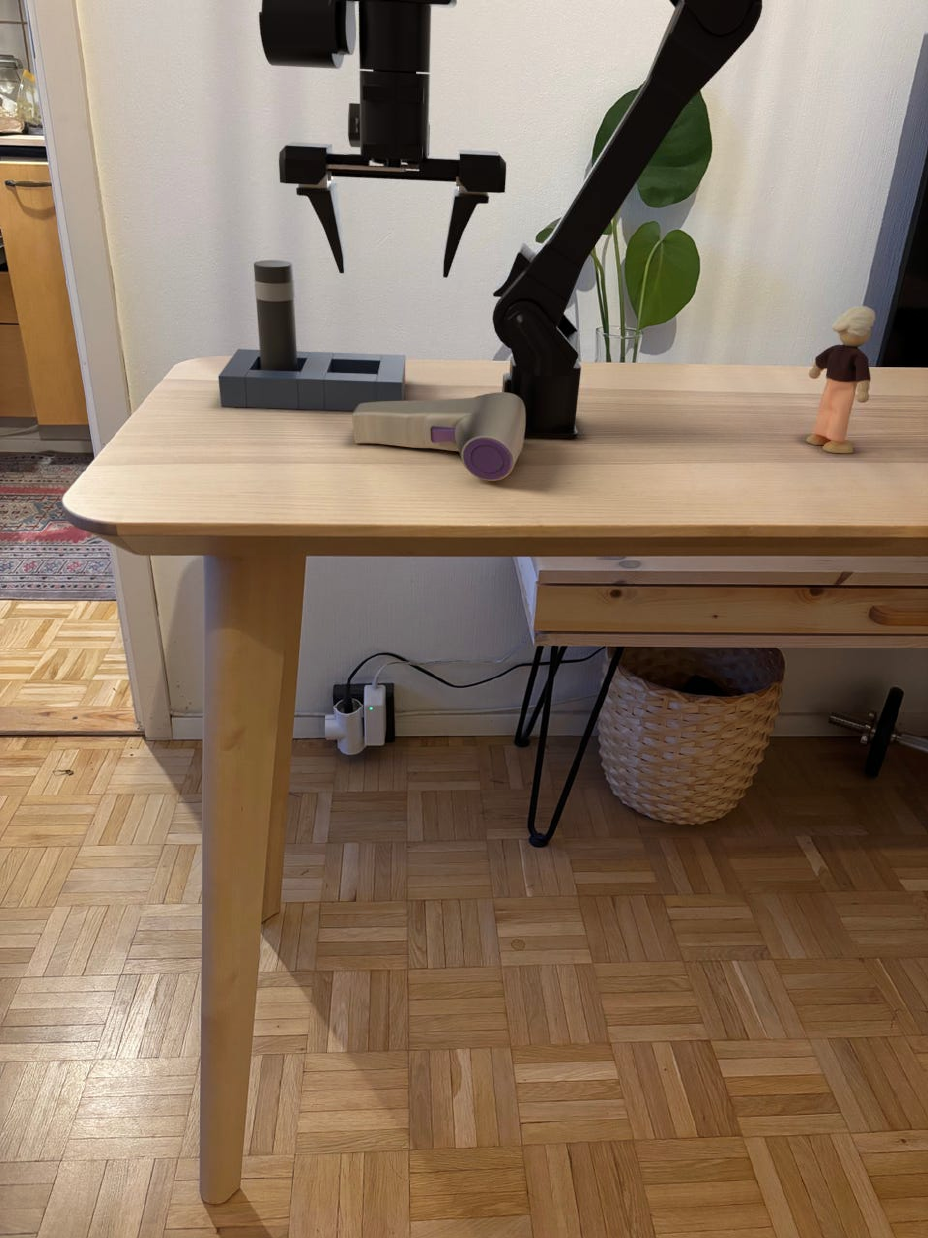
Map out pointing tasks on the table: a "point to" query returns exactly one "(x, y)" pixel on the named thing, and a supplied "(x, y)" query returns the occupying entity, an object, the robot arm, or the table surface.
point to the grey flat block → (313, 381)
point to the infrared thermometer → (451, 429)
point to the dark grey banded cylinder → (276, 315)
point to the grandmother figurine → (842, 379)
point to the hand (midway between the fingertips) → (393, 274)
